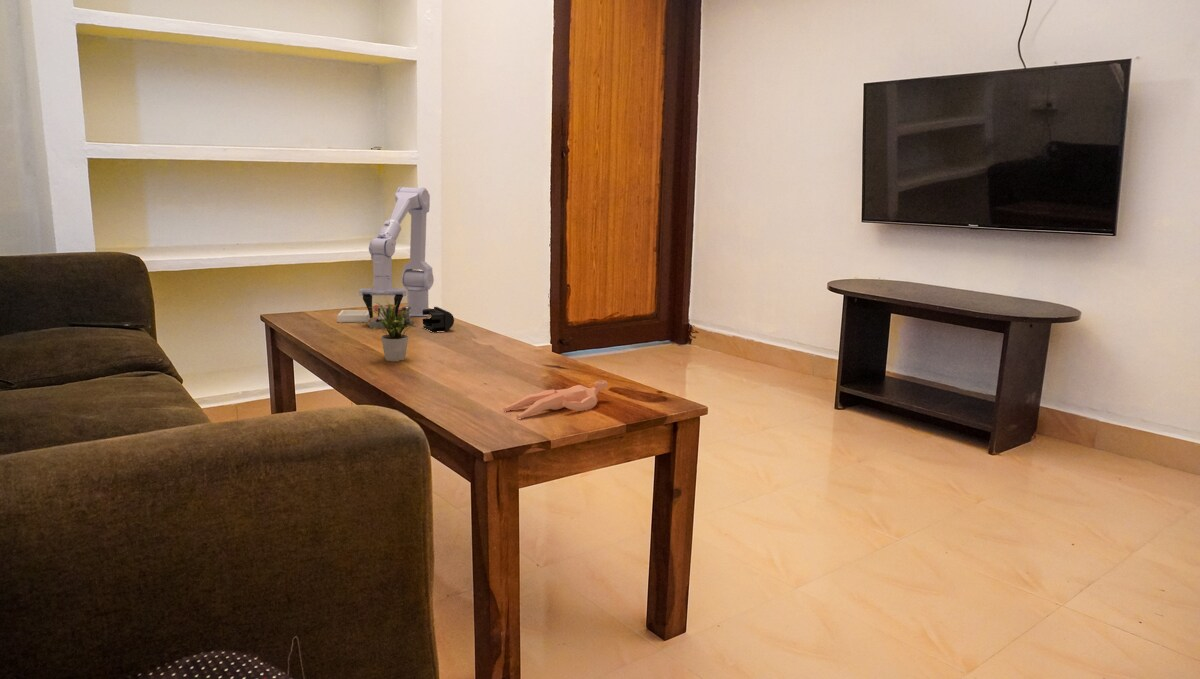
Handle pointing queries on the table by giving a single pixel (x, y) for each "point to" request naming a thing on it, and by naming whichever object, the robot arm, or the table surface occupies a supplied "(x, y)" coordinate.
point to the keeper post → (406, 315)
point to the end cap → (438, 319)
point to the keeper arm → (387, 306)
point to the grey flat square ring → (375, 321)
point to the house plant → (394, 334)
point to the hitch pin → (382, 313)
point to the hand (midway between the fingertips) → (383, 317)
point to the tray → (353, 316)
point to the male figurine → (559, 399)
